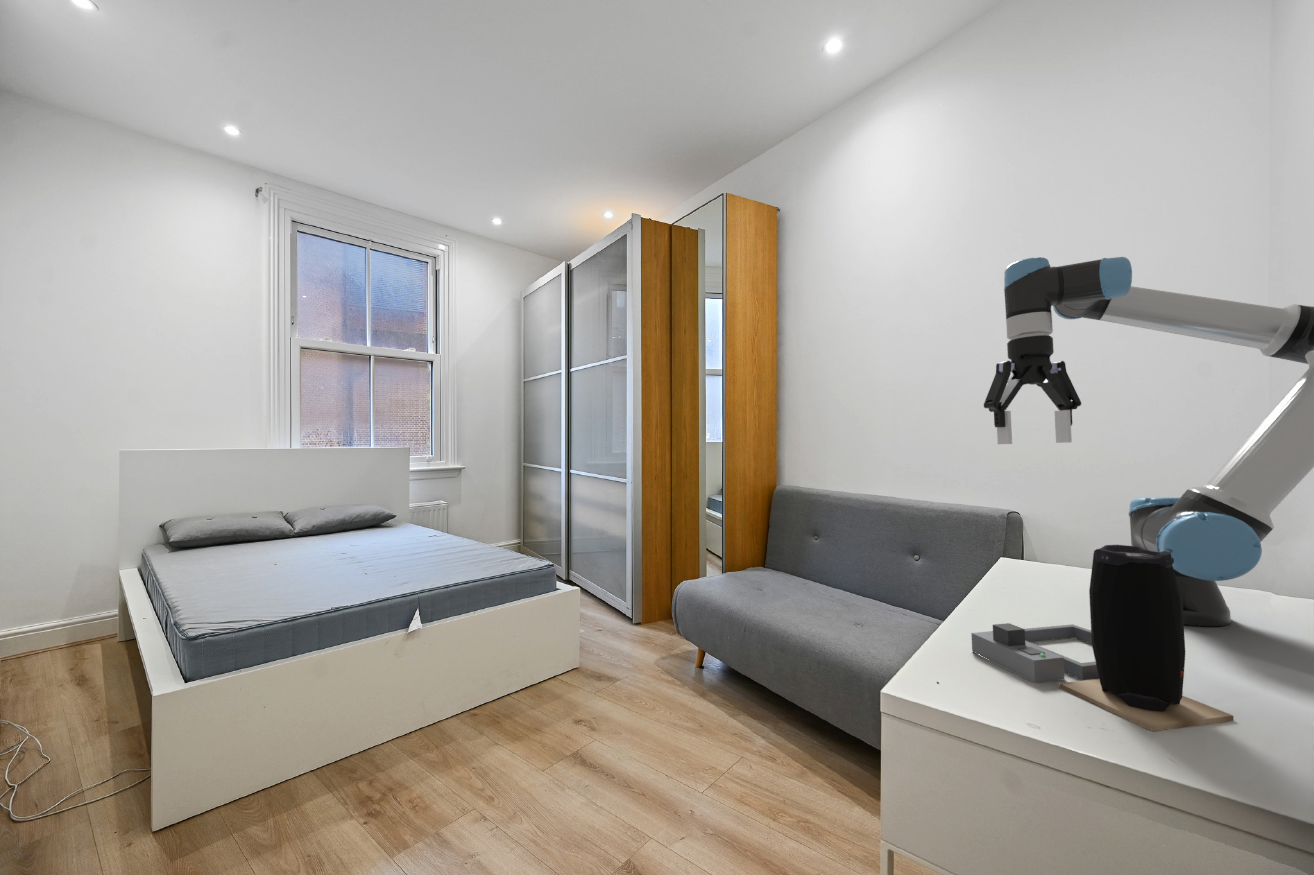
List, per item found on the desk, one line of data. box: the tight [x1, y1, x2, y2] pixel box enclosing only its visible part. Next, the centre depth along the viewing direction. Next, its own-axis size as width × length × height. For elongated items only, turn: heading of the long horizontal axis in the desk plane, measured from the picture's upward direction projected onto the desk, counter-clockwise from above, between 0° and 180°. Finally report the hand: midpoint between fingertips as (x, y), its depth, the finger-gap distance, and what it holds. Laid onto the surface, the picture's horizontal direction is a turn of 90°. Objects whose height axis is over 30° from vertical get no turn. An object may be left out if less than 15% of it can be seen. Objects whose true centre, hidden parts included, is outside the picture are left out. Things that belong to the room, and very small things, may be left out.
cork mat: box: [1058, 678, 1234, 732], centre depth 69 cm, size 12×12×1 cm
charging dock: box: [1024, 624, 1099, 681], centre depth 85 cm, size 18×16×2 cm
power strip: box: [971, 622, 1065, 684], centre depth 82 cm, size 5×12×6 cm, turn 9°
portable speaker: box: [1088, 544, 1186, 711], centre depth 70 cm, size 9×9×20 cm
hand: (1034, 443), depth 105 cm, fingers open, 13 cm apart
